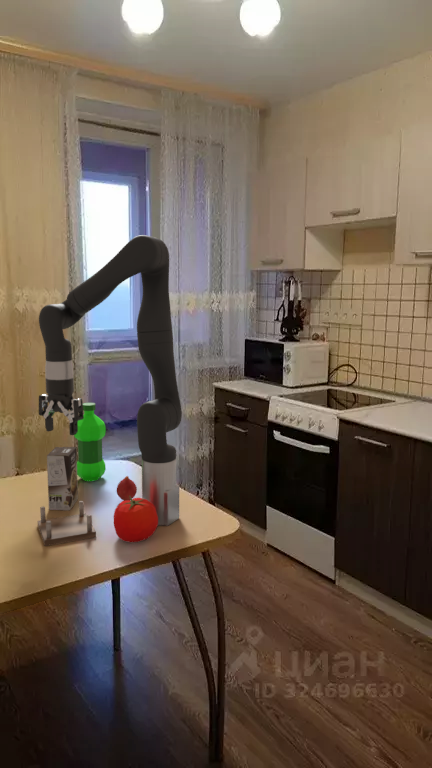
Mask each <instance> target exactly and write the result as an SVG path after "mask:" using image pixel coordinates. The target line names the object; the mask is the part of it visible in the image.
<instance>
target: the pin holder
mask: <svg viewBox="0 0 432 768" xmlns="http://www.w3.org/2000/svg"><path fill="white" fill-rule="evenodd" d="M84 507H85V506H84V501H83V500H79V501H78V512H79V513H78V514H73V515H66V516H65V515H64V516H60V517H52V518H46V506H41V507H40V520H37V528H38V531H39V533H40V536H41V539H42V542H43V545H44V547H46V546H47V547H48V546H52V545H59V544H65V543H66V544H67V543H70V542H76V541H82V540H83V541H84V540H87V539H94V538H97V531H96V529H95V527H94V526H93V517H92V516H93V515H92V514H86V513H85V509H84Z"/></svg>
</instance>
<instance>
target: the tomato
mask: <svg viewBox="0 0 432 768" xmlns="http://www.w3.org/2000/svg"><path fill="white" fill-rule="evenodd" d="M129 497H130V496H129ZM113 512H114V513H113V526H114V531H115V533H116V535H117V537H118V538H119V539H120V540H122V542H127V543H138V542H143V541H145V540H148V539H149V538H150V537H152V536H153V534H154V533H155V532H156V530H157V528H158V526H159V525H158V516H157V513H156V508H155V506H154V505H153V504H152V503H151V502H149V501H148V500H146V499H142V498H141V497H133V498H131V497H130V500H128V501H124V500H121V502H119V503H118V505H117V506H116V508H115V509H114V511H113Z"/></svg>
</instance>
